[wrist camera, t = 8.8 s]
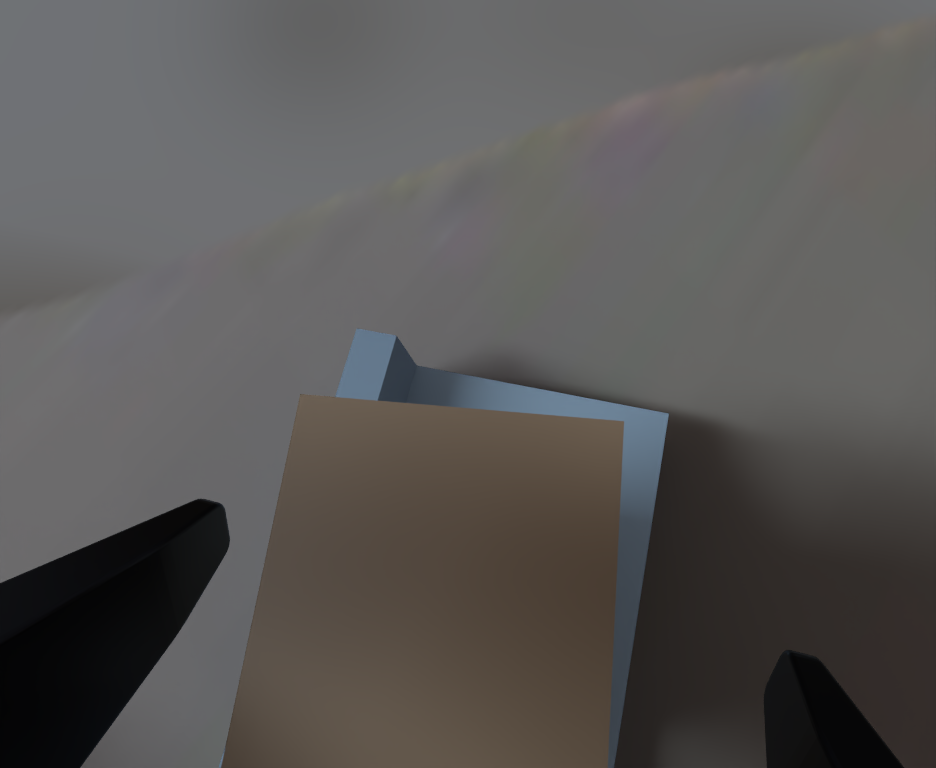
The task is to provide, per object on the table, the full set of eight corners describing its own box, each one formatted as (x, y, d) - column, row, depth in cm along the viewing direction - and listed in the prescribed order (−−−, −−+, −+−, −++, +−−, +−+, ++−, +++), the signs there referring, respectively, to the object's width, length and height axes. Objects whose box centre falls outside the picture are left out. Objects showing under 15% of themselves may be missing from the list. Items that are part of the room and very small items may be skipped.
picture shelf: (575, 930, 16) (584, 1082, 11) (276, 818, 18) (174, 907, 13) (655, 432, 20) (686, 388, 15) (400, 382, 21) (356, 328, 17)
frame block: (566, 794, 15) (590, 1253, 5) (408, 764, 15) (142, 1111, 5) (585, 510, 17) (628, 422, 7) (443, 495, 17) (296, 394, 7)
